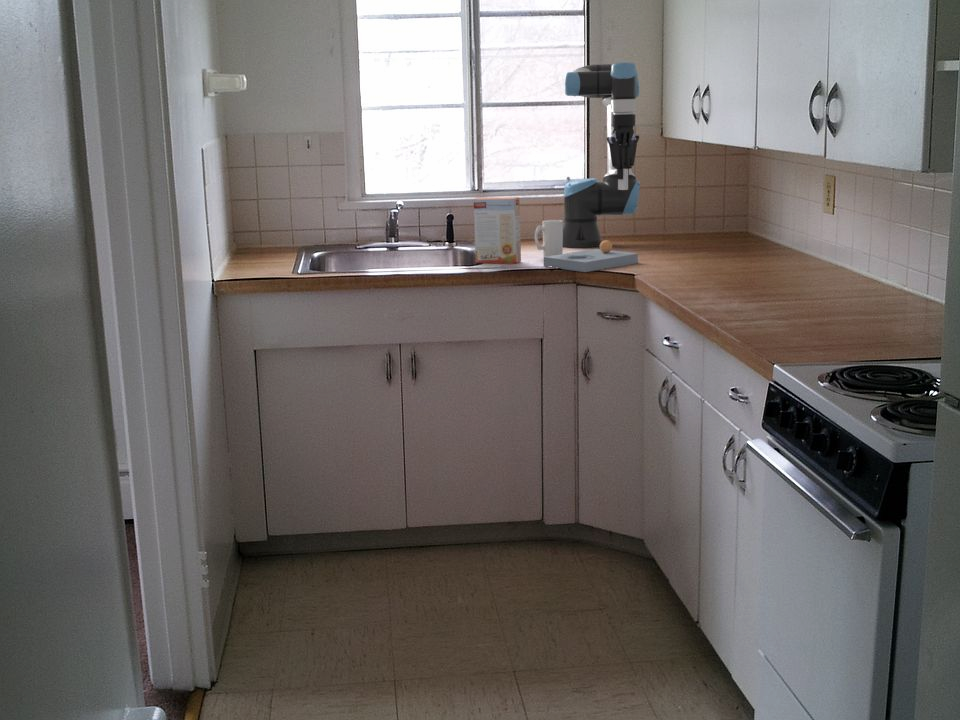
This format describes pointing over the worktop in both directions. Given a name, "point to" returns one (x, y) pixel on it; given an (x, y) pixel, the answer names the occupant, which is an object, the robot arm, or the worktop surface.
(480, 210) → the cracker box
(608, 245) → the ball
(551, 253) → the mug
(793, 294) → the worktop surface
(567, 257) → the tray
